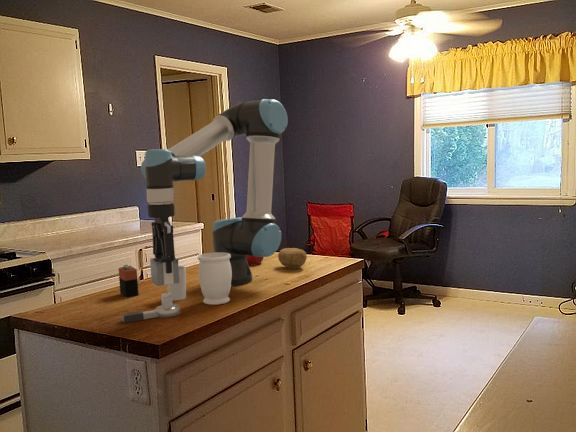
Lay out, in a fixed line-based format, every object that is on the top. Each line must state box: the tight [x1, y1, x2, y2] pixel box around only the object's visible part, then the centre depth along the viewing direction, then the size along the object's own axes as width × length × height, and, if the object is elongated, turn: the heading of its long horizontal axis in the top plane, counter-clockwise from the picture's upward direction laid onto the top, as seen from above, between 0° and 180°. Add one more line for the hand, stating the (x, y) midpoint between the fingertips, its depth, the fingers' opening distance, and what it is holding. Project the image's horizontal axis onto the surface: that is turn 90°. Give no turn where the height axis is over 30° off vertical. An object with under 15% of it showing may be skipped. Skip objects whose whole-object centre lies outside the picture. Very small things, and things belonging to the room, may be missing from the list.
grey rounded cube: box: [149, 256, 180, 287], centre depth 160 cm, size 6×6×7 cm
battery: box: [118, 264, 139, 298], centre depth 186 cm, size 4×7×10 cm, turn 35°
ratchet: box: [121, 292, 181, 324], centre depth 159 cm, size 16×7×6 cm, turn 119°
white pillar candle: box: [166, 265, 187, 301], centre depth 179 cm, size 7×7×10 cm
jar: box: [197, 252, 232, 306], centre depth 172 cm, size 11×10×15 cm
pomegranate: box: [246, 255, 265, 266], centre depth 230 cm, size 10×10×9 cm
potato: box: [277, 247, 307, 269], centre depth 219 cm, size 10×14×8 cm
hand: (165, 281), depth 160 cm, fingers closed on grey rounded cube, 6 cm apart
